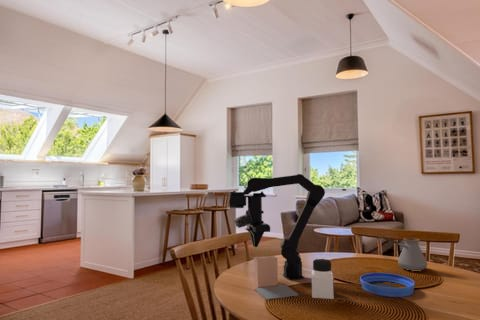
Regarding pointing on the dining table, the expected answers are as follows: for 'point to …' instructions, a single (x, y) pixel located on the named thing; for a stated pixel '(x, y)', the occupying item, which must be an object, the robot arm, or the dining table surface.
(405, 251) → the coffee pot
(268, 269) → the terracotta block
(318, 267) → the medicine bottle
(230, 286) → the dining table surface
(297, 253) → the robot arm
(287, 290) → the mat
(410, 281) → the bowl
